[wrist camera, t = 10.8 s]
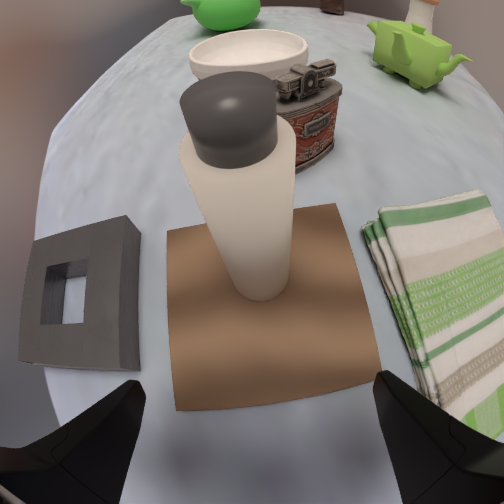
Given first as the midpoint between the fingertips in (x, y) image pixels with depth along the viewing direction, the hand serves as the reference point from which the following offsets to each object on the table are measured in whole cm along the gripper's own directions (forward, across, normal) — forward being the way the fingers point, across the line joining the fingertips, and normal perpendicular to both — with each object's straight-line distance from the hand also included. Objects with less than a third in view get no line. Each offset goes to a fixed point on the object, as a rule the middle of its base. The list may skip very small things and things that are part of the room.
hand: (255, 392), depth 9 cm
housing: (+11, +16, +2) cm, 19 cm away
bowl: (+30, 0, -18) cm, 35 cm away
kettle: (+36, -28, -23) cm, 51 cm away
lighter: (+21, -5, -8) cm, 23 cm away
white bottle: (+11, 0, 0) cm, 11 cm away
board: (+10, 0, +2) cm, 11 cm away
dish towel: (+8, -19, +5) cm, 21 cm away
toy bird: (+56, +4, -44) cm, 71 cm away
